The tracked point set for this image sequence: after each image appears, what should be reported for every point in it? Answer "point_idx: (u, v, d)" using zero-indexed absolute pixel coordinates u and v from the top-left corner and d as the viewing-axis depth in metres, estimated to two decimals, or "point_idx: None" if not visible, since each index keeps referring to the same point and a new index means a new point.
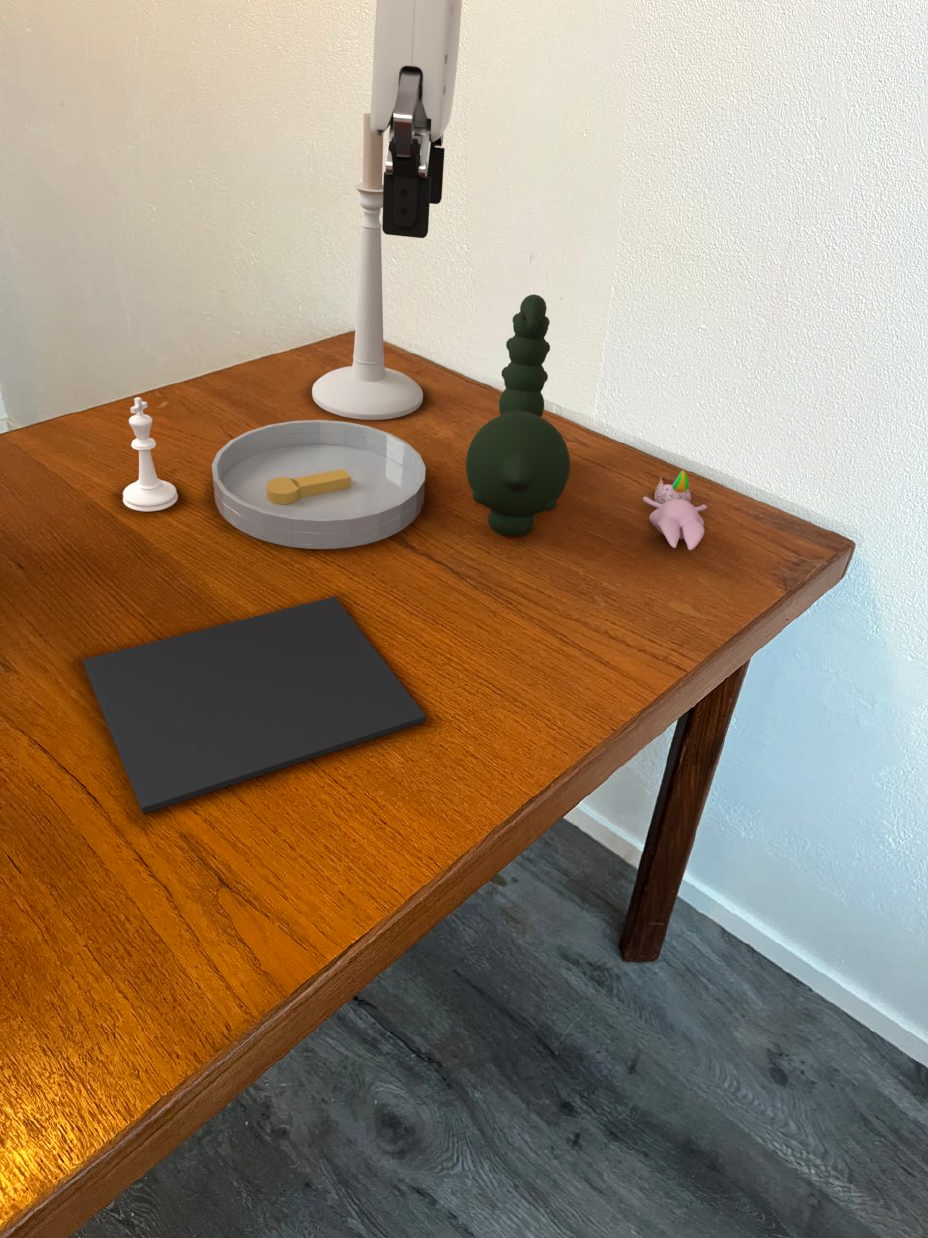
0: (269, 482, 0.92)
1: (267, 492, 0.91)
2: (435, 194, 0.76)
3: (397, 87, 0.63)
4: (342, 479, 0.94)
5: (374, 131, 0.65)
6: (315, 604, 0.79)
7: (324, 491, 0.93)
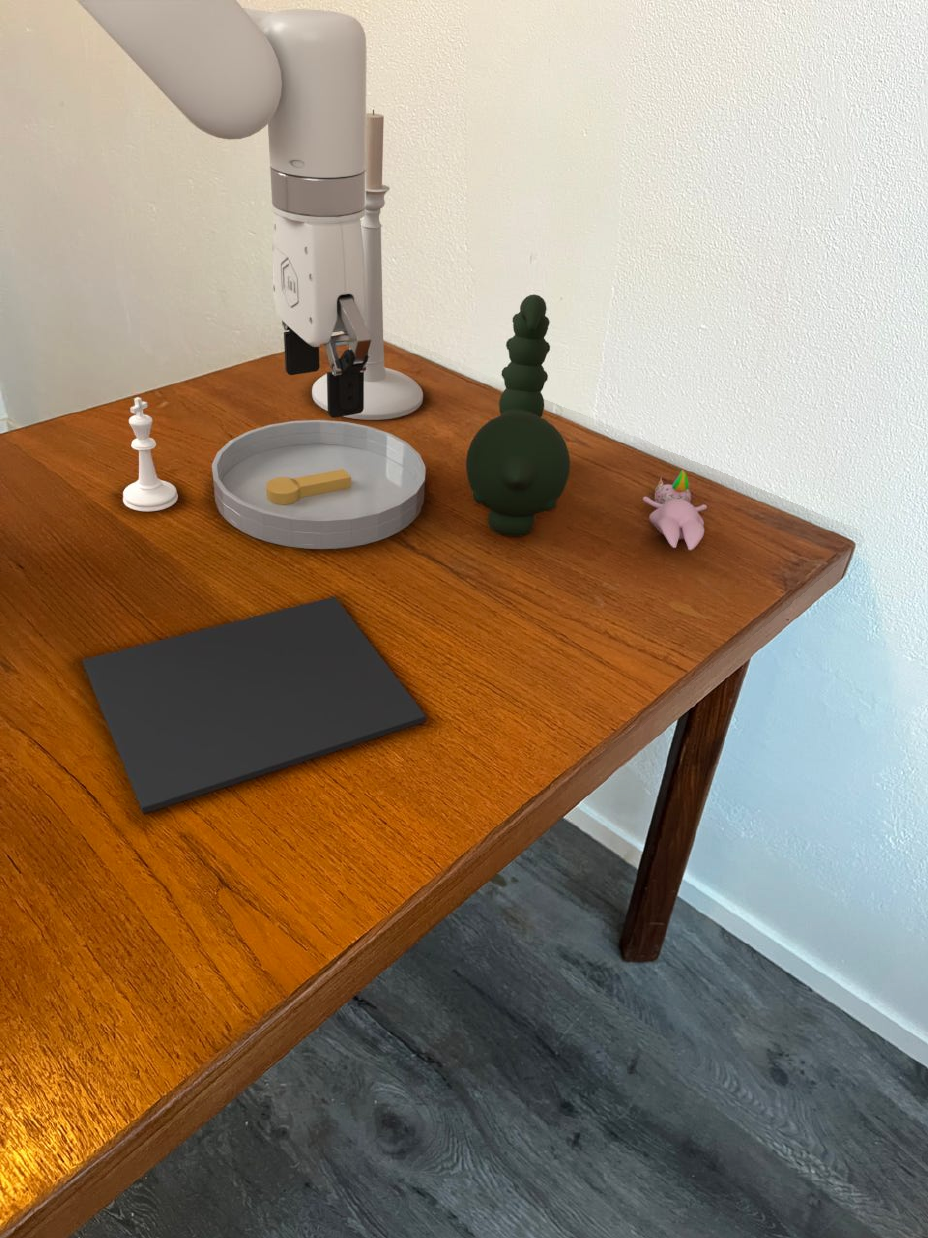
0: (269, 482, 0.92)
1: (267, 492, 0.91)
2: (315, 365, 0.91)
3: (336, 311, 0.79)
4: (342, 479, 0.94)
5: (317, 345, 0.80)
6: (315, 604, 0.79)
7: (324, 491, 0.93)
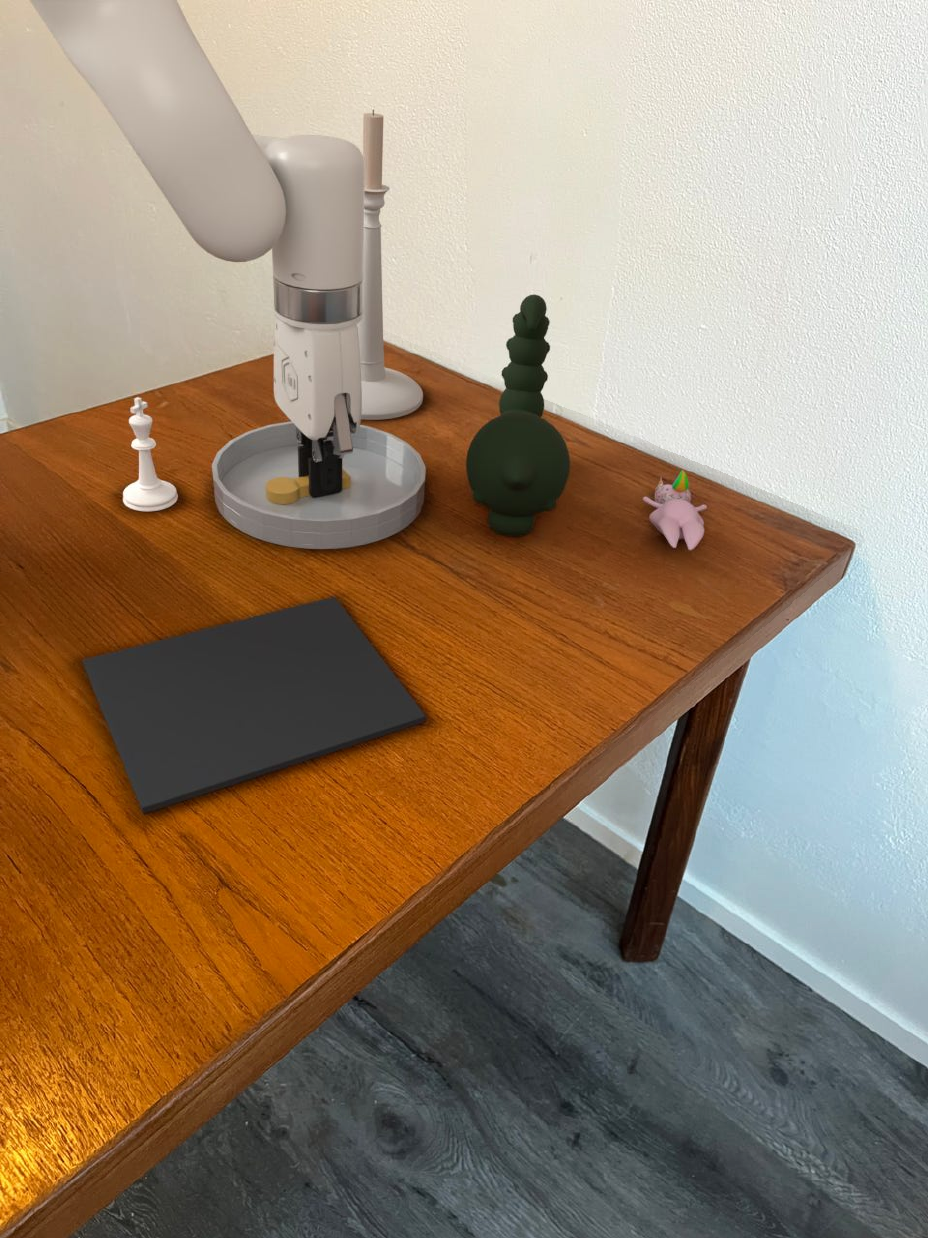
0: (269, 482, 0.92)
1: (267, 492, 0.91)
2: None
3: (333, 409, 0.84)
4: None
5: (315, 439, 0.85)
6: (315, 604, 0.79)
7: None
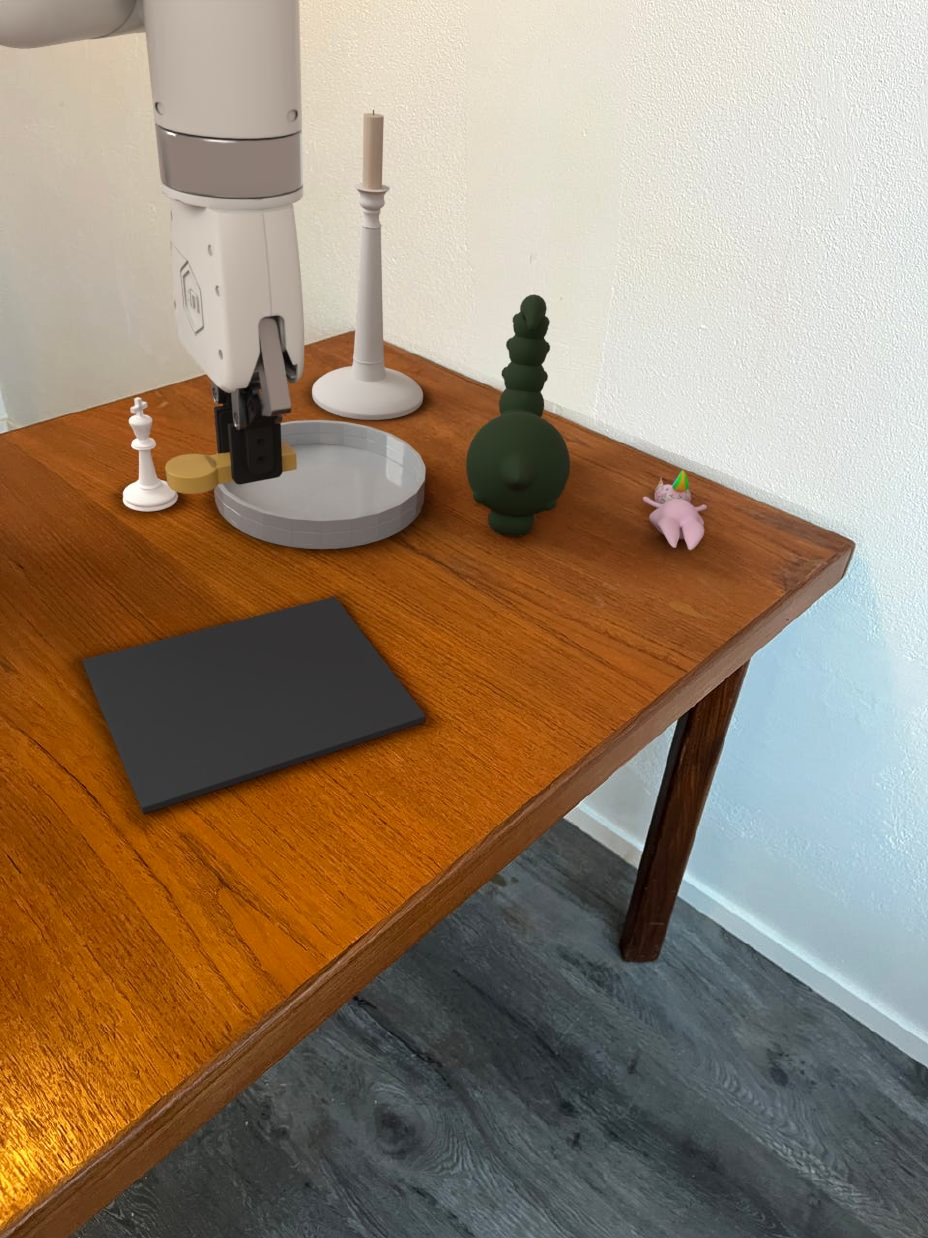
0: (171, 461, 0.61)
1: (167, 476, 0.60)
2: None
3: (258, 341, 0.53)
4: (282, 456, 0.63)
5: (231, 390, 0.54)
6: (315, 604, 0.79)
7: None
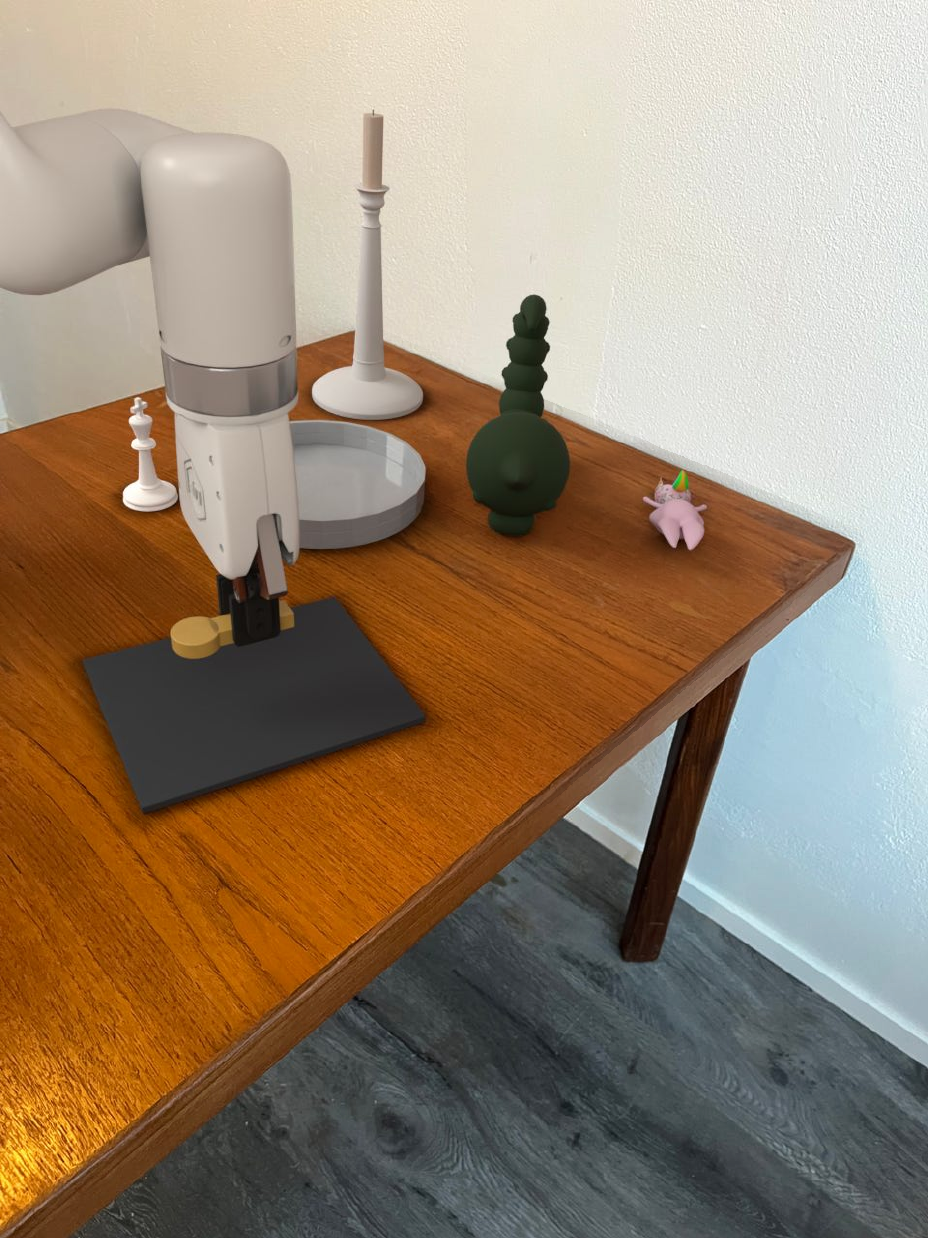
0: (176, 626, 0.65)
1: (172, 641, 0.64)
2: None
3: (256, 537, 0.57)
4: (281, 617, 0.67)
5: (231, 578, 0.58)
6: (315, 604, 0.79)
7: None
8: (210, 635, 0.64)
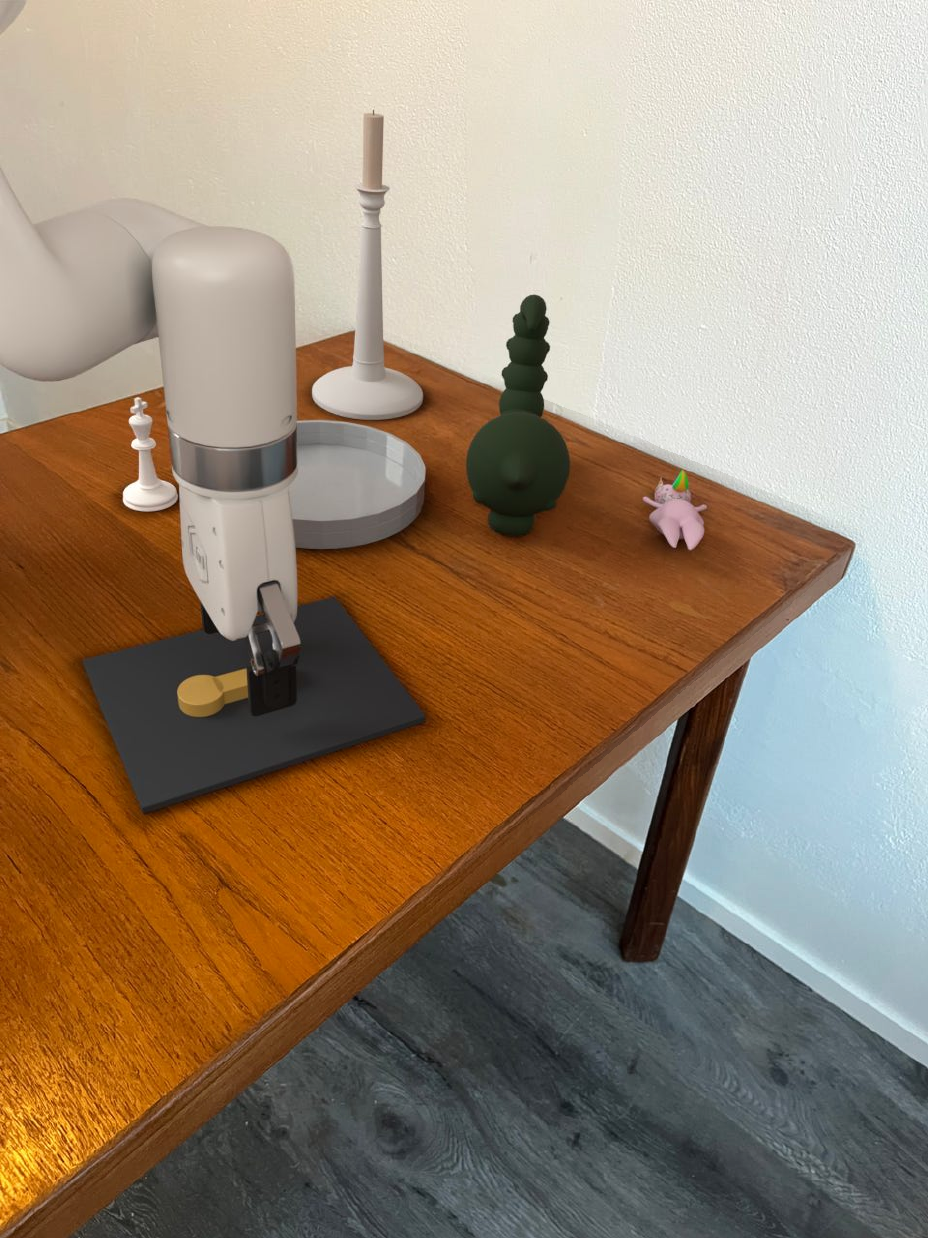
0: (182, 685, 0.68)
1: (179, 700, 0.67)
2: None
3: (256, 602, 0.60)
4: None
5: (232, 640, 0.61)
6: (315, 604, 0.79)
7: None
8: (215, 694, 0.67)
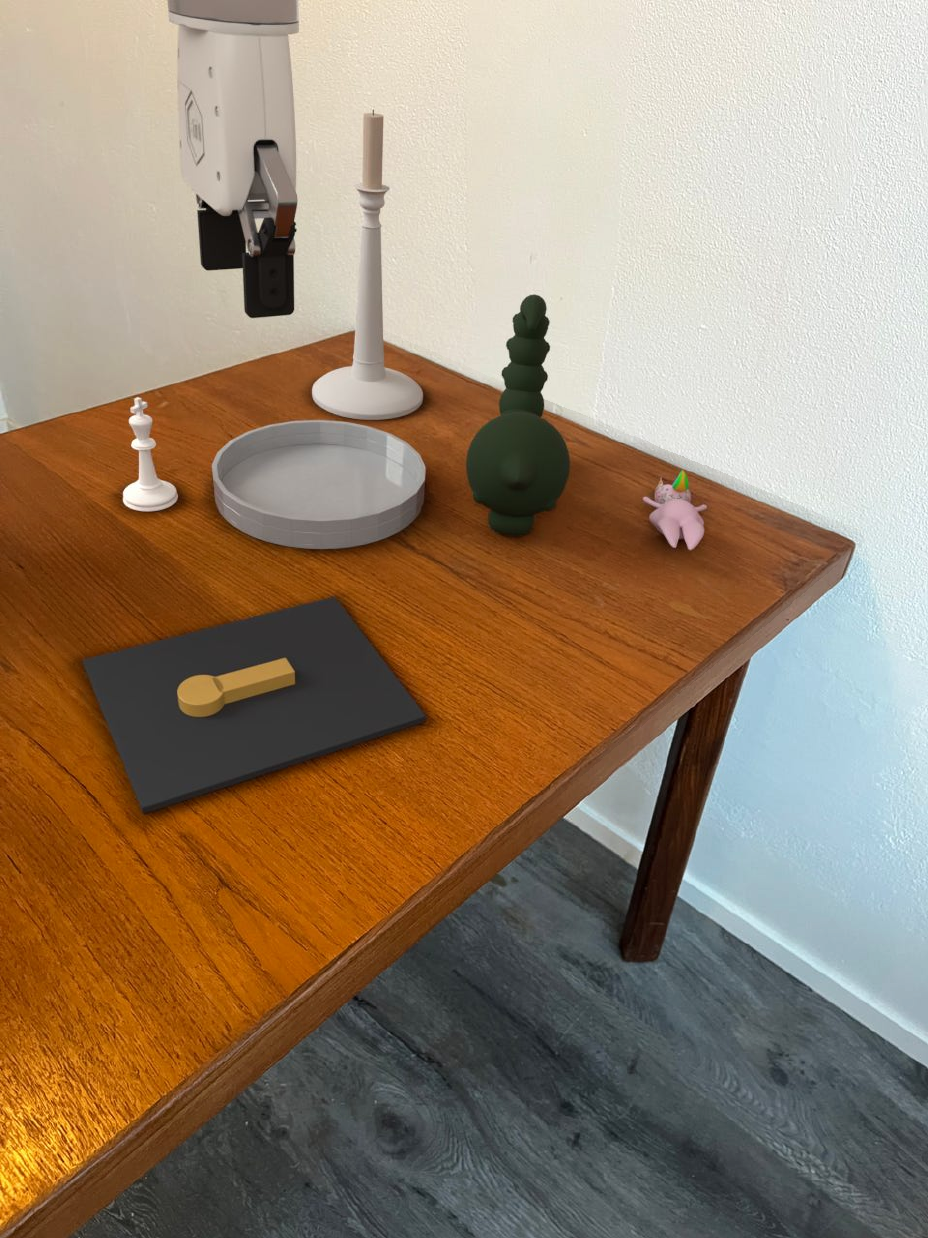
0: (182, 685, 0.68)
1: (179, 700, 0.67)
2: (241, 259, 0.70)
3: (252, 163, 0.58)
4: (282, 676, 0.70)
5: (227, 212, 0.59)
6: (315, 604, 0.79)
7: (258, 692, 0.69)
8: (215, 694, 0.67)
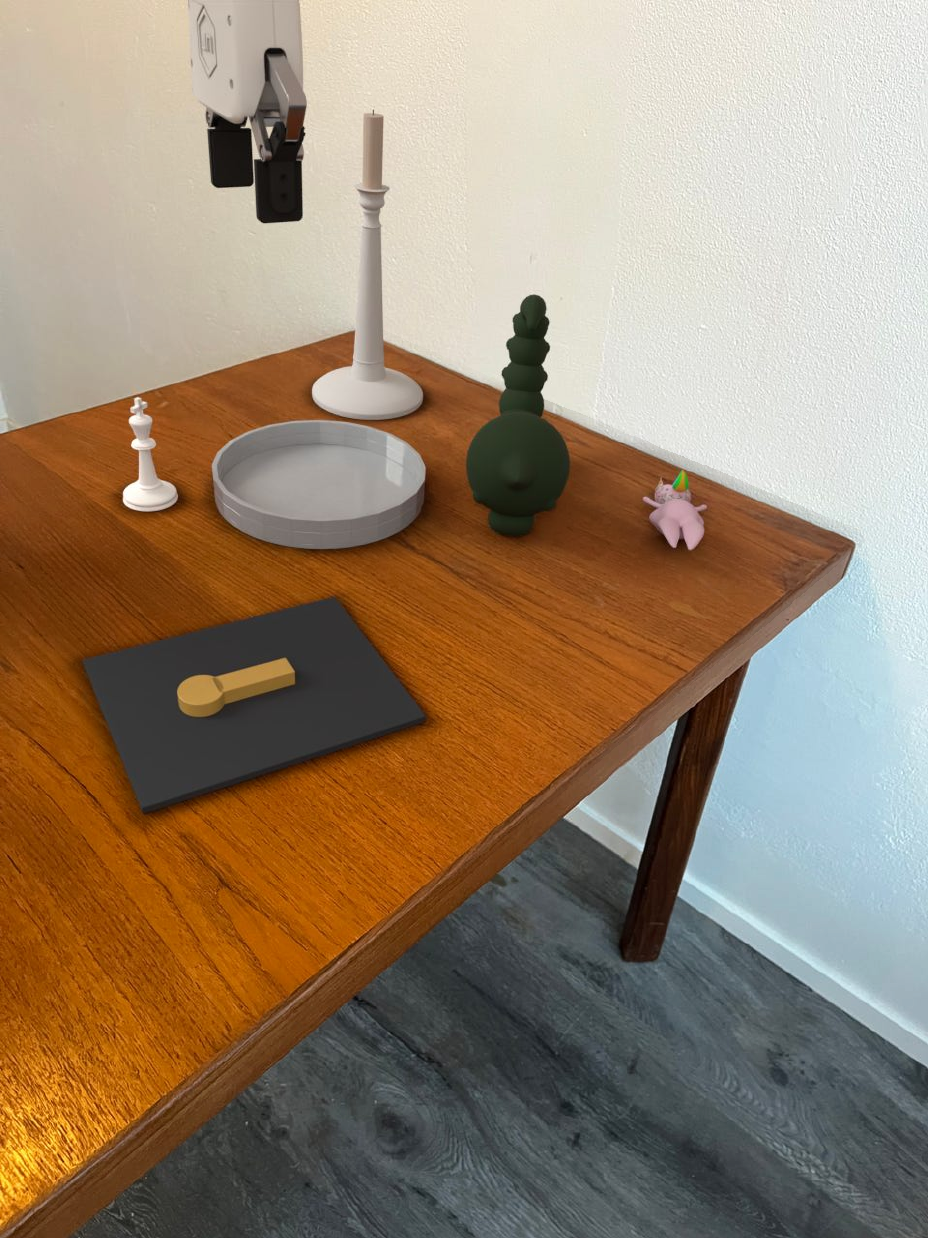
0: (182, 685, 0.68)
1: (179, 700, 0.67)
2: (248, 177, 0.74)
3: (263, 70, 0.62)
4: (282, 676, 0.70)
5: (240, 118, 0.63)
6: (315, 604, 0.79)
7: (258, 692, 0.69)
8: (215, 694, 0.67)
